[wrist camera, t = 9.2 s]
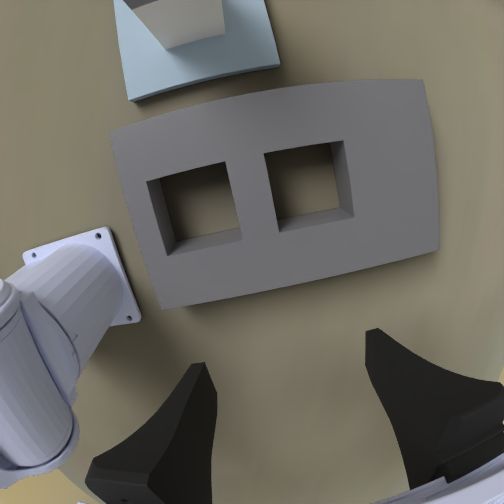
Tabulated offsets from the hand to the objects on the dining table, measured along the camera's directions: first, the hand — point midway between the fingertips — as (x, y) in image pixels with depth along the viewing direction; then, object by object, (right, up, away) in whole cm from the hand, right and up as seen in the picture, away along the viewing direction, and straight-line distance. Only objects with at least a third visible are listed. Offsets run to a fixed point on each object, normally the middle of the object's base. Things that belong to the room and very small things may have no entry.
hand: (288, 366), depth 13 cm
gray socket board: (+1, +10, +8) cm, 12 cm away
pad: (-6, +21, +3) cm, 22 cm away
